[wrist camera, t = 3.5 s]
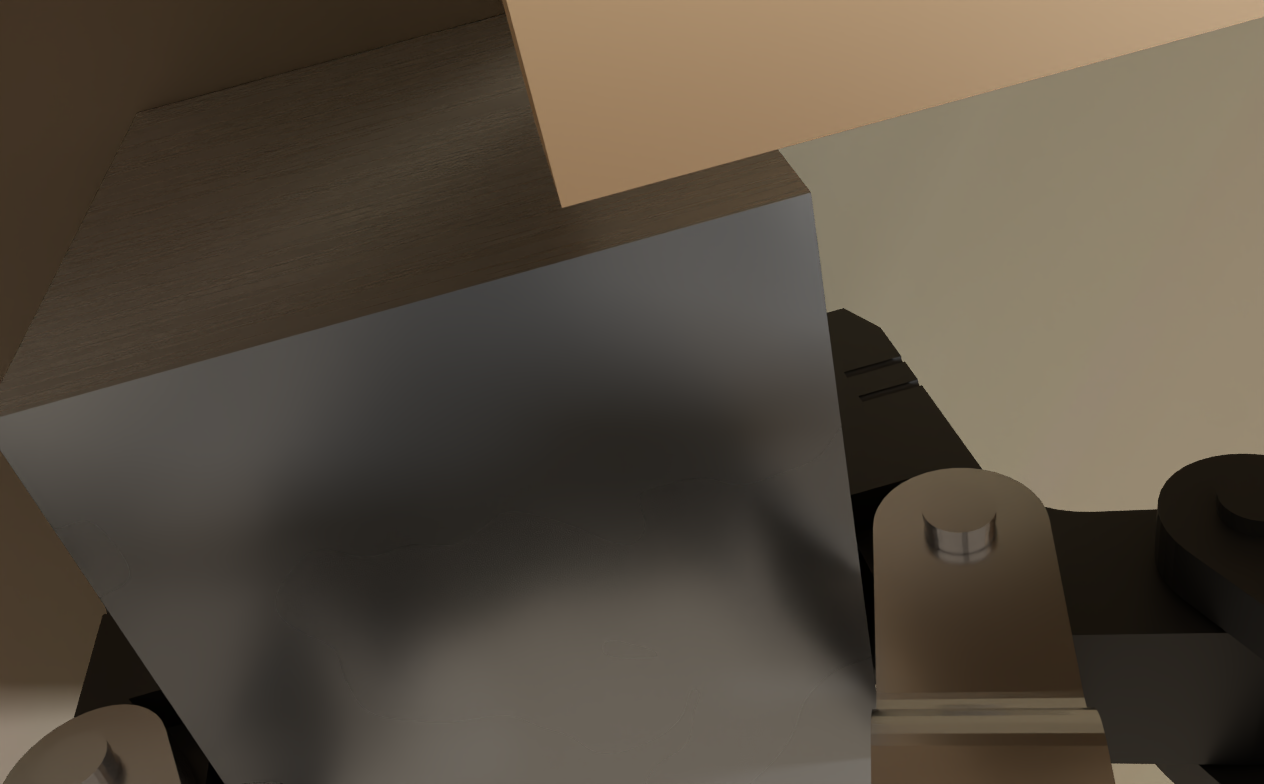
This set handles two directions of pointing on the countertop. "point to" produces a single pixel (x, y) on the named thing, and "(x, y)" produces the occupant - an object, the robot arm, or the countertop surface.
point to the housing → (451, 442)
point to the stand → (792, 69)
